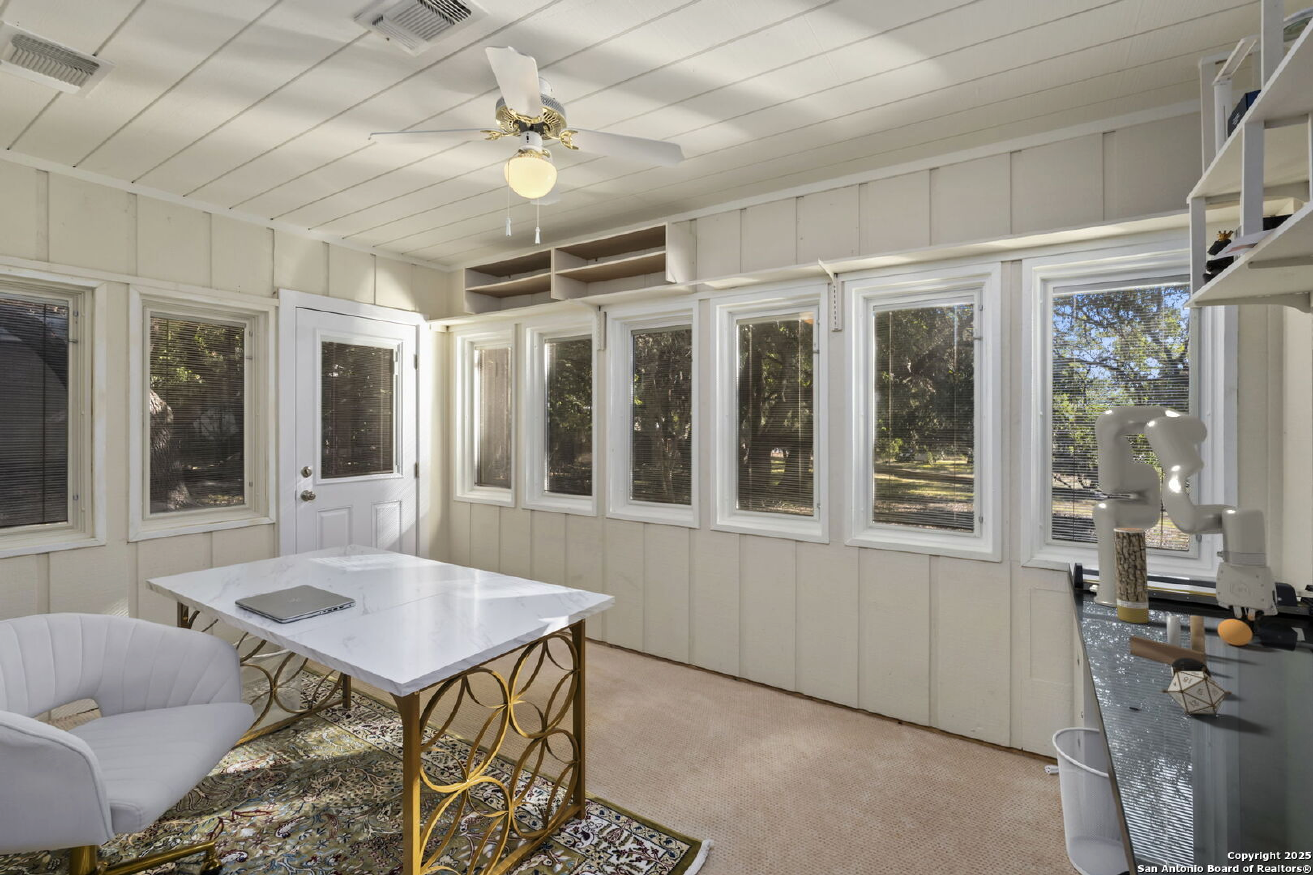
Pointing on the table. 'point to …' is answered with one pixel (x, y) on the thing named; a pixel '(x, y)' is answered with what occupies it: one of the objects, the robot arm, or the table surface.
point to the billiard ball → (1189, 666)
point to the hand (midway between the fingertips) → (1248, 634)
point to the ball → (1235, 632)
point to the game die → (1196, 692)
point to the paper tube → (1131, 575)
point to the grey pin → (1173, 630)
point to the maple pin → (1197, 633)
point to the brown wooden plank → (1162, 651)
